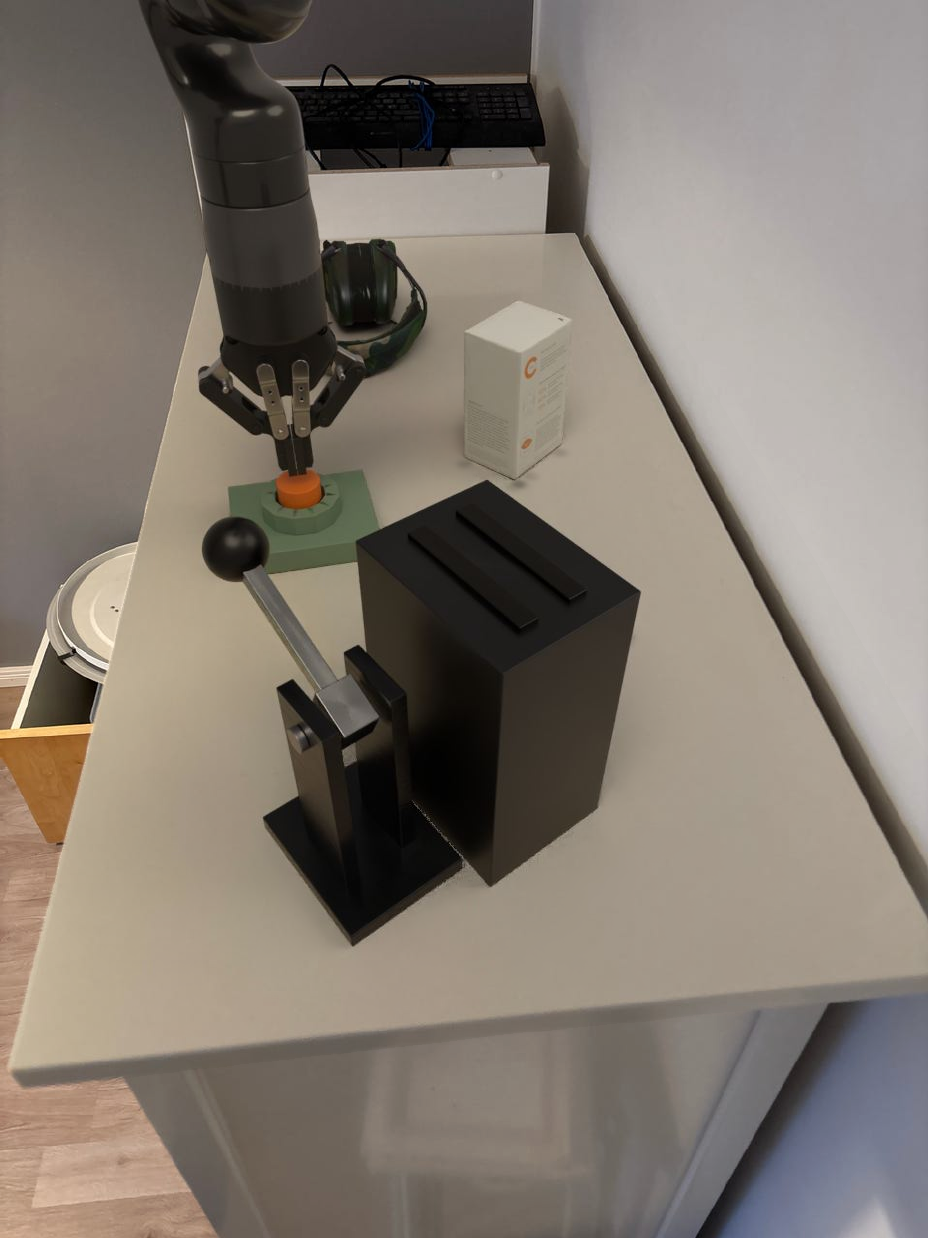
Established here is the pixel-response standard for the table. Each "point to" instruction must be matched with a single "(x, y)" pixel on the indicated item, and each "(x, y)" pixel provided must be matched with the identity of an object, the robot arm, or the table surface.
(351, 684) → the toaster lever
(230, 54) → the robot arm
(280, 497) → the button
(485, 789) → the toaster
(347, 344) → the headphones
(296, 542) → the control block
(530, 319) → the small box
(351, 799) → the lever bracket
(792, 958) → the table surface
